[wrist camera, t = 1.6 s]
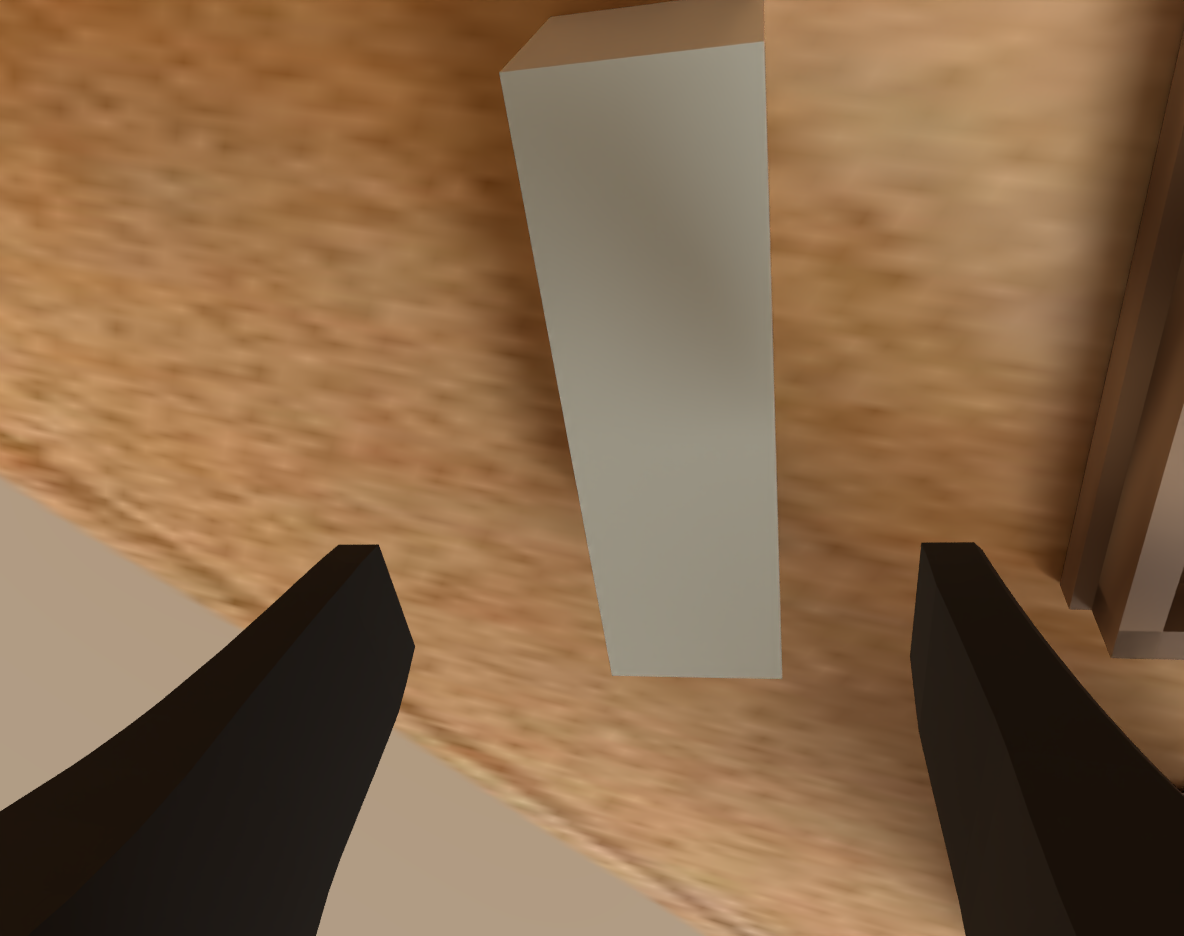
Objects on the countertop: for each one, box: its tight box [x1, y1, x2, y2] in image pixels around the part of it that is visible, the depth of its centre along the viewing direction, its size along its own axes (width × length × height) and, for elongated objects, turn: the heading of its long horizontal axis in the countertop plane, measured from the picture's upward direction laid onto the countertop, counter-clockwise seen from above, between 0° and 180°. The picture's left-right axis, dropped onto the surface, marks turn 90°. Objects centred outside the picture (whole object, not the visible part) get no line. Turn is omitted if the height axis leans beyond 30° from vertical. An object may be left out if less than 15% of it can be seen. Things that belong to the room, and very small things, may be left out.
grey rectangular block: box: [499, 0, 782, 679], centre depth 17 cm, size 12×4×4 cm, turn 8°
